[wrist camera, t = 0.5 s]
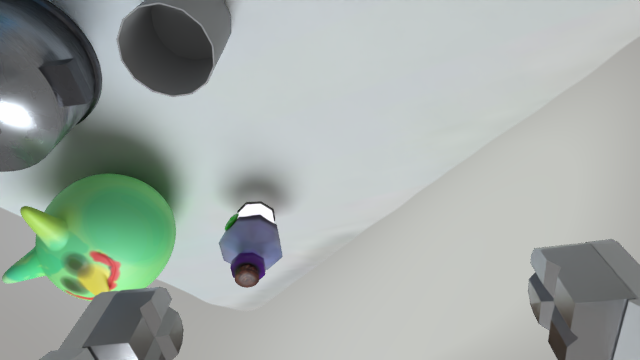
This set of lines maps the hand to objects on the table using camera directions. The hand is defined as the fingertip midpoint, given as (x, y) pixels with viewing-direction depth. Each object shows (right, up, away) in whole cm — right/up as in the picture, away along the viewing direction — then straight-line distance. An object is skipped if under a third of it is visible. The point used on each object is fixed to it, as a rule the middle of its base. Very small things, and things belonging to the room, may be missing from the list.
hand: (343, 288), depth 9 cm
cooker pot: (-34, +16, +38) cm, 53 cm away
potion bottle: (-10, -3, +52) cm, 53 cm away
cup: (-14, +20, +36) cm, 43 cm away
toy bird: (-28, -1, +50) cm, 58 cm away
